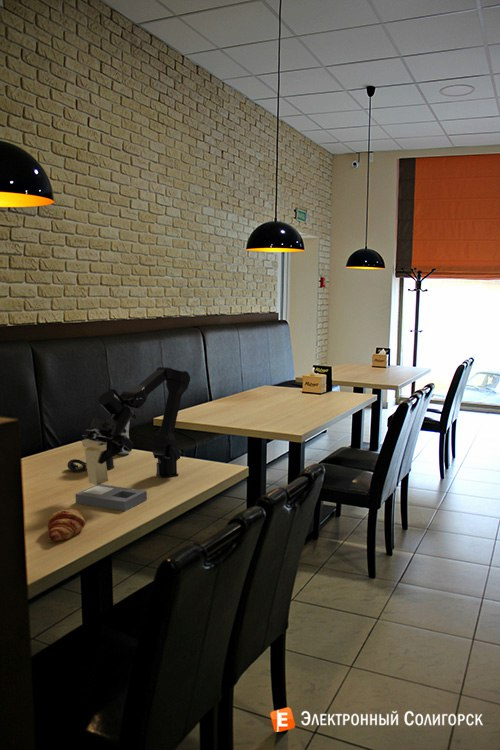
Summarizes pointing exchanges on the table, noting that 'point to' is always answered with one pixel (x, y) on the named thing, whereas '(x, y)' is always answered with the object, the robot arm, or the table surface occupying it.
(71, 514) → the croissant
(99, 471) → the t key
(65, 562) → the table surface
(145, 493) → the board
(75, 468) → the milk frother
